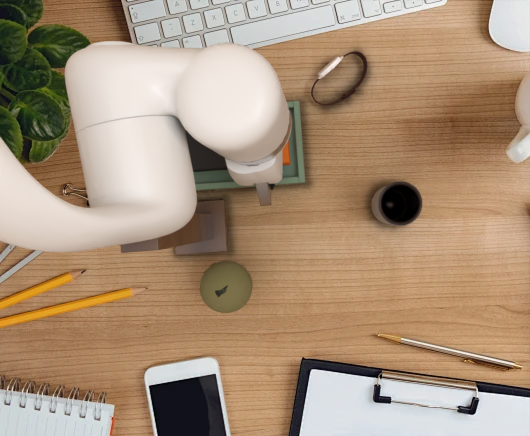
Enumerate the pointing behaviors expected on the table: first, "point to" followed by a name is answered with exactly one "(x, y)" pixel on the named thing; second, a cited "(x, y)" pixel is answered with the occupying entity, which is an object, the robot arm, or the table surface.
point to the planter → (397, 203)
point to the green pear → (226, 286)
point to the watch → (331, 66)
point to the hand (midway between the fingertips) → (267, 145)
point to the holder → (290, 172)
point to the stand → (192, 233)
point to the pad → (204, 156)
